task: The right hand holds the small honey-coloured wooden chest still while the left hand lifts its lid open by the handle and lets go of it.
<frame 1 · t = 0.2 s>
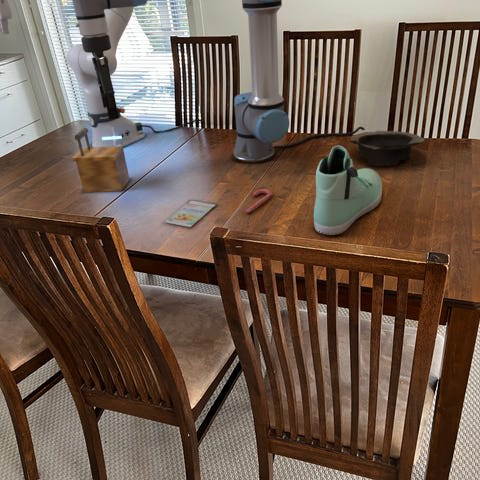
left hand: (0, 33, 160), 48 cm above the table, tool pointing down, fingers open, 8 cm apart
right hand: (111, 112, 141), 28 cm above the table, tool pointing down, fingers open, 13 cm apart
sneaker: (348, 208, 139), on the table
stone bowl: (383, 157, 169), on the table
chest: (107, 185, 165), on the table
candy cane: (256, 203, 146), on the table
lid: (95, 143, 157), point 15 cm above the table, hinge at 0.0°
baking ingredient package: (191, 214, 143), on the table
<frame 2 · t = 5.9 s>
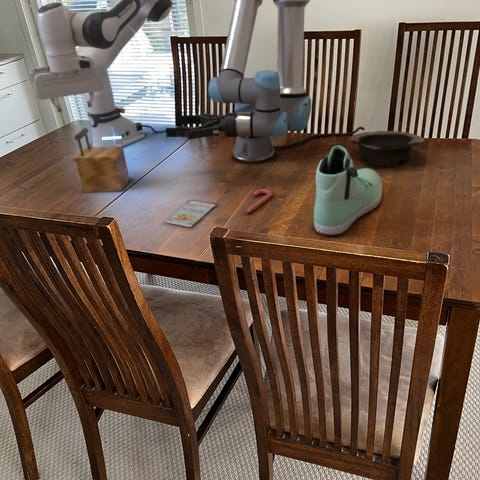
left hand: (75, 109, 152), 27 cm above the table, tool pointing down, fingers open, 8 cm apart
right hand: (172, 126, 153), 20 cm above the table, tool horizontal, fingers open, 13 cm apart
nothing on the table moved.
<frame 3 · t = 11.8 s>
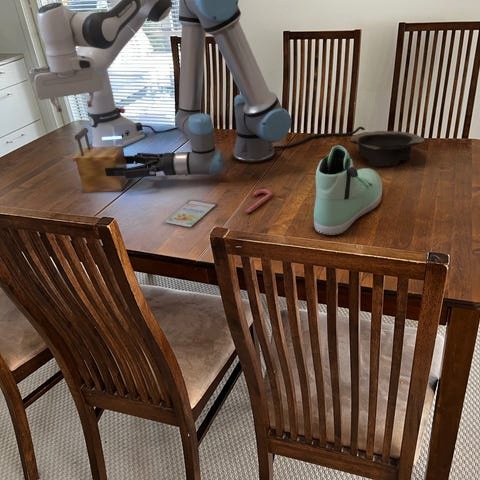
left hand: (75, 109, 152), 27 cm above the table, tool pointing down, fingers open, 8 cm apart
right hand: (110, 166, 161), 7 cm above the table, tool horizontal, fingers closed on chest, 9 cm apart
chest: (107, 185, 165), on the table, touching right hand
everything else where it was.
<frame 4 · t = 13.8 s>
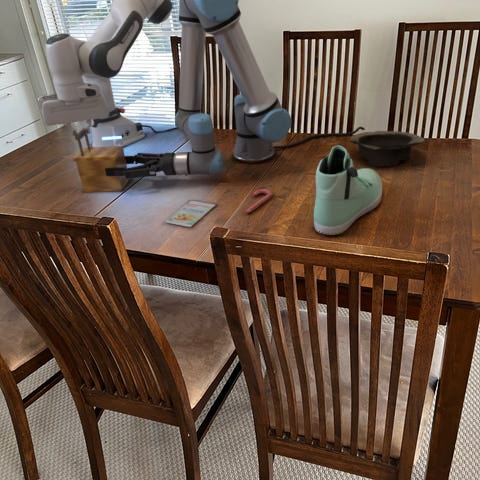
left hand: (81, 134, 156), 18 cm above the table, tool pointing down, fingers closed on lid, 3 cm apart
right hand: (110, 166, 161), 7 cm above the table, tool horizontal, fingers closed on chest, 9 cm apart
chest: (107, 185, 165), on the table, touching right hand
lid: (95, 143, 157), point 15 cm above the table, hinge at -0.1°, touching left hand
everything else where it was.
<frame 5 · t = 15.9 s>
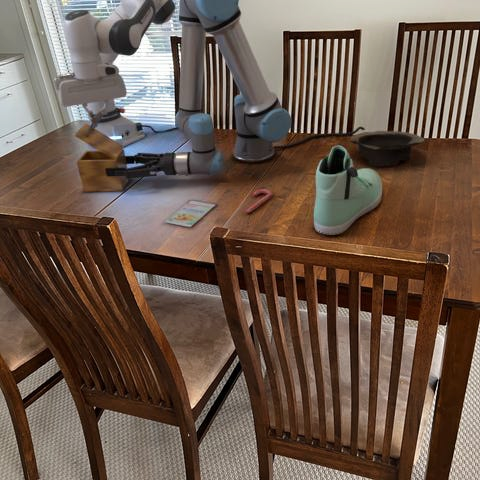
left hand: (97, 115, 152), 24 cm above the table, tool pointing down, fingers closed on lid, 3 cm apart
right hand: (111, 166, 161), 7 cm above the table, tool horizontal, fingers closed on chest, 9 cm apart
chest: (107, 185, 165), on the table, touching right hand
lid: (104, 132, 155), point 19 cm above the table, hinge at 35.9°, touching left hand
everything else where it was.
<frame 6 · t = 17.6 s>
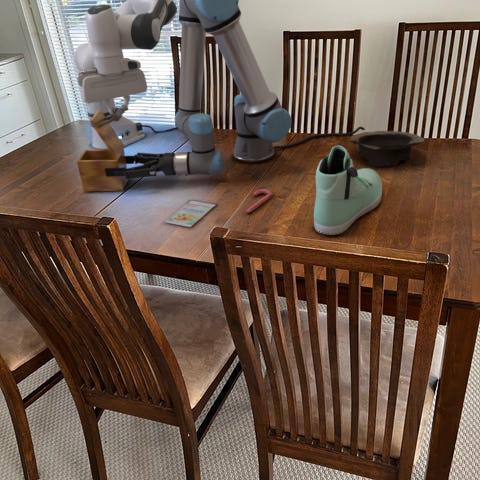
left hand: (119, 111, 150), 25 cm above the table, tool pointing down, fingers closed on lid, 3 cm apart
right hand: (110, 166, 161), 7 cm above the table, tool horizontal, fingers closed on chest, 10 cm apart
chest: (106, 184, 165), on the table, touching right hand
lid: (117, 129, 153), point 20 cm above the table, hinge at 65.3°, touching left hand
everything else where it was.
when the right hand's fingers open (7 cm above the table, at t = 21.6 s): chest stays where it is, on the table.
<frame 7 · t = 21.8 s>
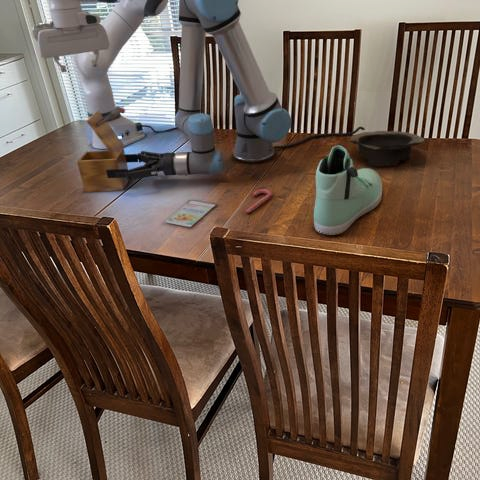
left hand: (79, 69, 145), 39 cm above the table, tool pointing down, fingers open, 8 cm apart
right hand: (113, 166, 161), 7 cm above the table, tool horizontal, fingers open, 12 cm apart
chest: (107, 185, 165), on the table
lid: (115, 128, 155), point 20 cm above the table, hinge at 63.2°
everything else where it was.
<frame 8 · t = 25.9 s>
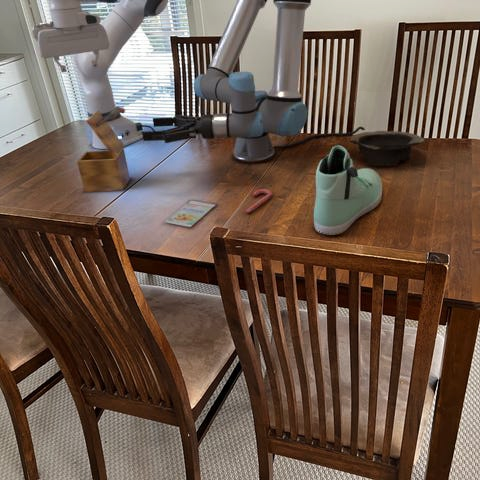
left hand: (79, 69, 145), 39 cm above the table, tool pointing down, fingers open, 8 cm apart
right hand: (148, 129, 153), 19 cm above the table, tool horizontal, fingers open, 13 cm apart
nothing on the table moved.
at the end: lid at +63° (first picture: +0°); the left hand is holding nothing; the right hand is holding nothing; chest tilted 0°; chest never tilted more than 5° during the clip; chest moved 0.3 cm from its start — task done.
